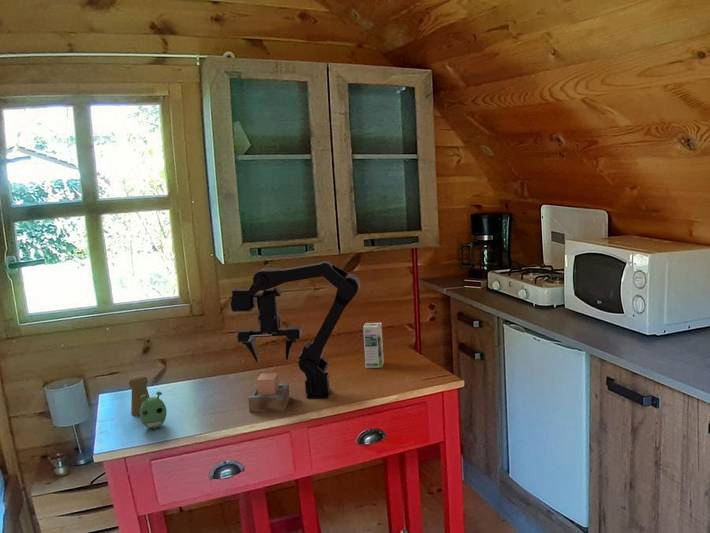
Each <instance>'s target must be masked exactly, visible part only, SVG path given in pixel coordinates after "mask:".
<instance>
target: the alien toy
mask: <svg viewBox="0 0 710 533" xmlns="http://www.w3.org/2000/svg"><path fill="white" fill-rule="evenodd" d="M155 394H156V395H157V397H156V396H150V398H148V399H145V397H146V395H145V394H143V395H141V397H140V398H141V399H144V402H143V403H142V405H141V407H140V416H139V418H140V422H141V423H142V425H143V426H145V427H146V428H147V429H148V428H149V429H157V428H160V427H161V426H162V425H163V424H164V423H165V421H166V418H167V413H168V412H167V407H166V404H165V403H164V401H163V399H160V396H162V395H163V393H162V392H161V391H156V393H155Z"/></svg>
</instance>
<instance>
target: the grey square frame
mask: <svg viewBox="0 0 710 533" xmlns="http://www.w3.org/2000/svg"><path fill="white" fill-rule="evenodd" d="M290 398H291V397H290V385H289V383H279V390H278V392H277V394H276V395H260V396H258V388H257V384H255V385H254V387H253V389H252V390H251V393H250V394H249V396H248V398H247V399H248V409H249V410H248V411H249V413H269V412H270V413H271V412H272V413H273V412H285V411H286V408H287V406H288V403H289V400H290Z"/></svg>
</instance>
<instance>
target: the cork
mask: <svg viewBox="0 0 710 533" xmlns="http://www.w3.org/2000/svg"><path fill="white" fill-rule="evenodd" d="M148 382H149V380H148V377H147V376H146V375H145V374H136V375H133V376H131V377H130V378H129V380H128V385H129V386H128V387H129V388H130V389H131V406H130V407H131V410H130V411H131V415H132V416H135V417H140V407H141V405H142V403H143V402H144V399H141V398H140V397H141V395H143V394H145V395H146V397H145V399H148V398H151V396H150V394H149V390H148V387H147V385H148V384H149V383H148Z"/></svg>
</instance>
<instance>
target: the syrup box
mask: <svg viewBox="0 0 710 533" xmlns="http://www.w3.org/2000/svg"><path fill="white" fill-rule="evenodd" d="M382 325H383V324H382V322H365V324H364V325H363V328H362V330H363V333H362V334H363V344H364V360H365V361H364V362H365V365H364V367H365V368H366V369H382V368H383V366H384V363H385V361H384V360H385V359H384V346H383V345H384V344H383V328H382Z"/></svg>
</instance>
